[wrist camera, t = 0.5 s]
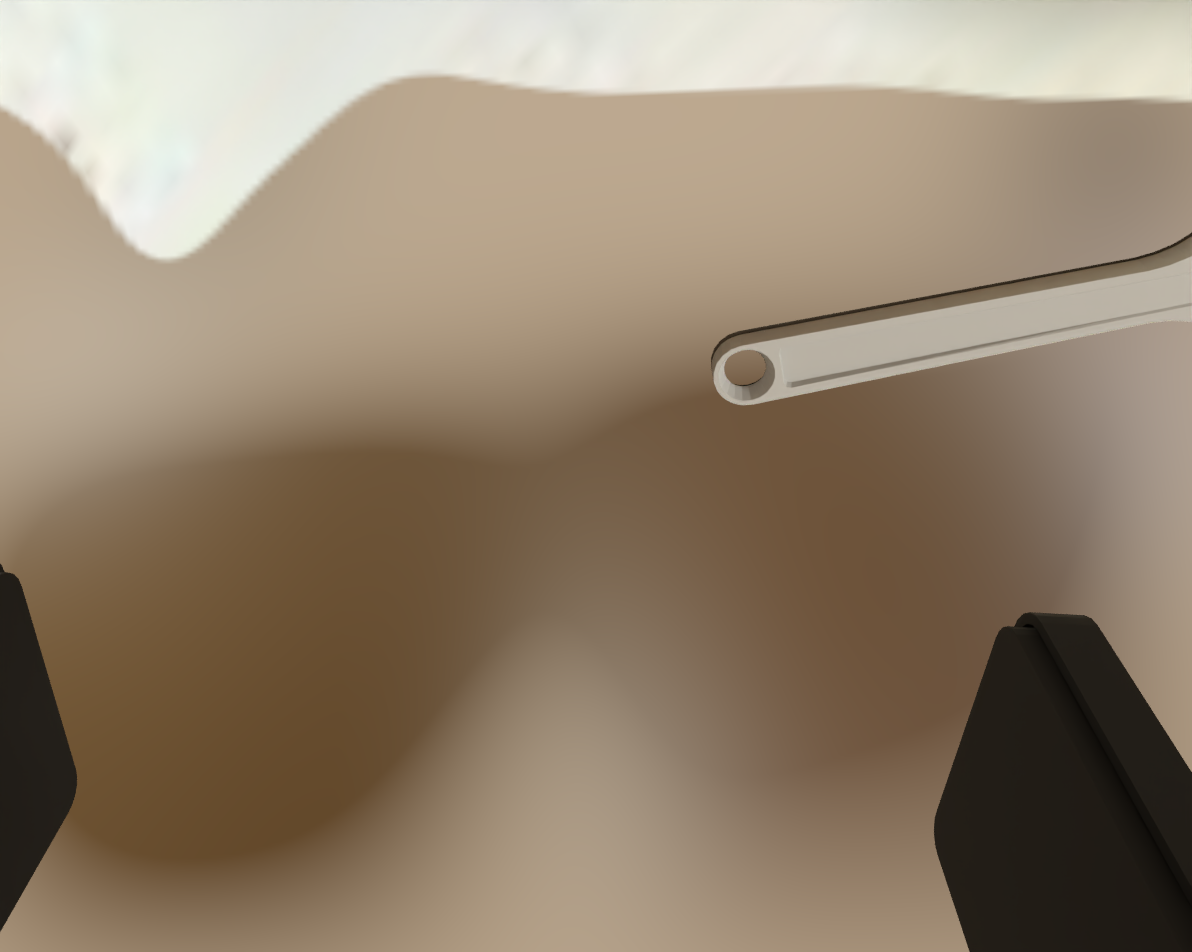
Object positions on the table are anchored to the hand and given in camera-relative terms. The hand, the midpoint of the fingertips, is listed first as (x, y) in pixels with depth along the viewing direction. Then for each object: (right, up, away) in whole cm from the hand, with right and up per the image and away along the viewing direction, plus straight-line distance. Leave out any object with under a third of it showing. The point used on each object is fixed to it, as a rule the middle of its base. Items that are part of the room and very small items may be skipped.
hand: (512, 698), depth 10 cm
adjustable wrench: (+18, +10, +29) cm, 35 cm away
